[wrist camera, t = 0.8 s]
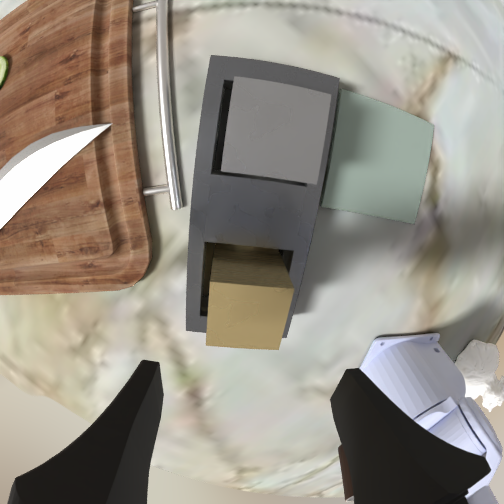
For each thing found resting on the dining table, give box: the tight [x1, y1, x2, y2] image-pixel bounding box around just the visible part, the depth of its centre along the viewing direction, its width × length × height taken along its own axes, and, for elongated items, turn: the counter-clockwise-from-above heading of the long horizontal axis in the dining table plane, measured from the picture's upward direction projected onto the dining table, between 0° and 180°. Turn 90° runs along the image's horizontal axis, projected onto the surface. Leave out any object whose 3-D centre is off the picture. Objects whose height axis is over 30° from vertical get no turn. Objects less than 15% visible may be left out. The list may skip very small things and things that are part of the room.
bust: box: [455, 340, 504, 412], centre depth 23 cm, size 12×8×11 cm
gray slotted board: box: [186, 55, 340, 338], centre depth 16 cm, size 7×17×2 cm, turn 172°
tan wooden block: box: [206, 243, 294, 350], centre depth 16 cm, size 4×4×6 cm
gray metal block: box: [221, 76, 331, 185], centre depth 13 cm, size 4×4×6 cm
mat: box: [320, 89, 434, 224], centre depth 16 cm, size 8×8×1 cm
